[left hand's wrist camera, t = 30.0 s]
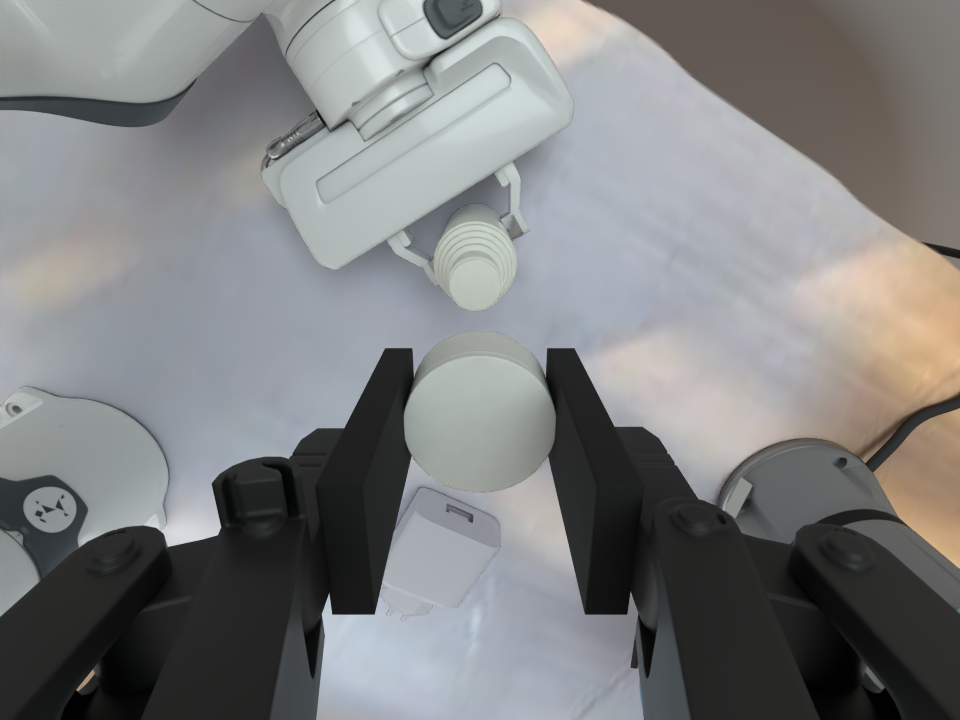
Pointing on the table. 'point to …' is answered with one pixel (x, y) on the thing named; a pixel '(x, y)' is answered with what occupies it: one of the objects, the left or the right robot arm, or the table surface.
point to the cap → (479, 413)
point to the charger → (437, 554)
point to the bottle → (475, 258)
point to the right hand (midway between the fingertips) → (482, 257)
